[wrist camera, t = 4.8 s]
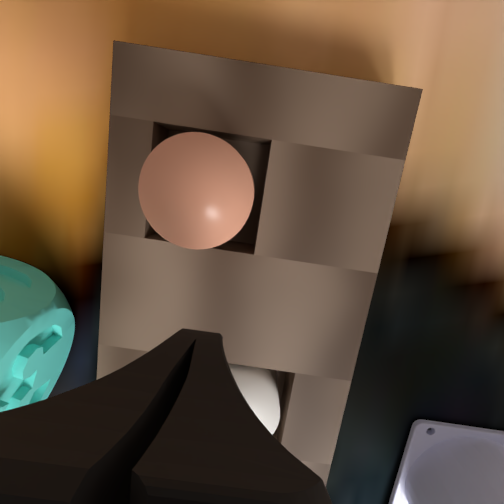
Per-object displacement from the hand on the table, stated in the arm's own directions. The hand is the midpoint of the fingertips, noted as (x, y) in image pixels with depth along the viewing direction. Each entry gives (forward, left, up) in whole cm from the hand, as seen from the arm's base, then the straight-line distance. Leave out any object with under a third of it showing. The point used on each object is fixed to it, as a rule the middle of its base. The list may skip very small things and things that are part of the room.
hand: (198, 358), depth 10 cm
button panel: (-1, 0, -9) cm, 9 cm away
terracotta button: (+1, -5, -6) cm, 8 cm away
